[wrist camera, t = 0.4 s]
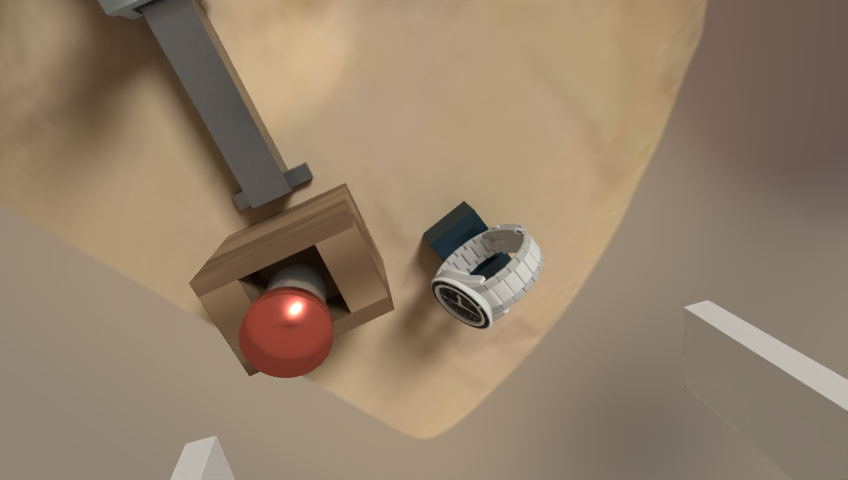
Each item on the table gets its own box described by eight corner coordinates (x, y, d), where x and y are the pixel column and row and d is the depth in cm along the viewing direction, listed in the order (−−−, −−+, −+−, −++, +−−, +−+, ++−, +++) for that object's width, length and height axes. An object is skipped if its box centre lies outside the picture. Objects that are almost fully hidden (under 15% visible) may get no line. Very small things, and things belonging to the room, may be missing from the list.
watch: (405, 248, 40) (426, 301, 29) (480, 187, 39) (530, 219, 29) (444, 294, 42) (478, 360, 31) (517, 237, 41) (576, 284, 31)
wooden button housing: (228, 236, 37) (188, 283, 28) (345, 183, 37) (346, 212, 28) (272, 309, 39) (249, 376, 30) (382, 259, 40) (394, 309, 30)
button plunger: (245, 275, 29) (220, 319, 23) (314, 243, 29) (306, 280, 23) (281, 335, 31) (266, 391, 25) (347, 305, 31) (347, 354, 25)
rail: (62, -105, 30) (32, -127, 27) (151, -144, 30) (131, -168, 27) (242, 208, 37) (233, 217, 34) (313, 176, 37) (310, 182, 34)
